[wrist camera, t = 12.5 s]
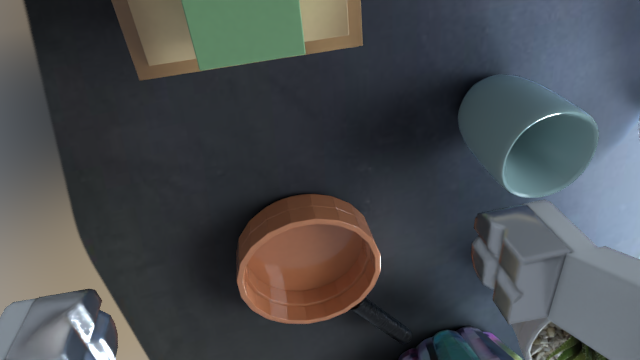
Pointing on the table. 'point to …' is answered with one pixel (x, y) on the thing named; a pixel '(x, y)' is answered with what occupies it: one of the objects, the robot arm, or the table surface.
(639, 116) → the white lobed panel
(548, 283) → the robot arm
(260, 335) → the table surface
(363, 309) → the pan handle
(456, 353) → the decorative bowl
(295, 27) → the block
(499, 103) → the cup
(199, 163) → the table surface
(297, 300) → the pan
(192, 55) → the box
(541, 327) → the potted plant
